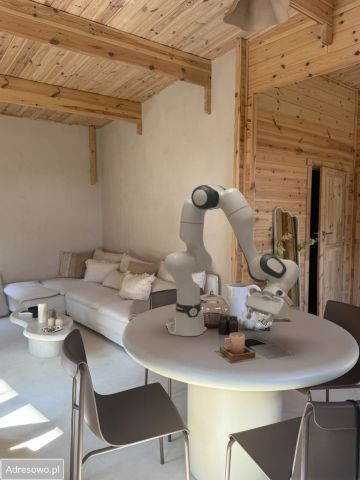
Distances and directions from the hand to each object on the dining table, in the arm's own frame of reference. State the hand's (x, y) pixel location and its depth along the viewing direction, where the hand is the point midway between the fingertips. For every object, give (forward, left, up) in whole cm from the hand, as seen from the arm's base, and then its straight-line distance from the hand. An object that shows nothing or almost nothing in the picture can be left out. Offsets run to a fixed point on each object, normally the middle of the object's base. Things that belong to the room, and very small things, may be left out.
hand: (255, 321), depth 146 cm
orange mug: (+1, -10, -12) cm, 16 cm away
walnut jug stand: (+1, -9, -14) cm, 16 cm away
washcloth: (-41, +38, -14) cm, 58 cm away
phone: (-31, +24, -14) cm, 42 cm away
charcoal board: (+2, +6, -14) cm, 15 cm away
